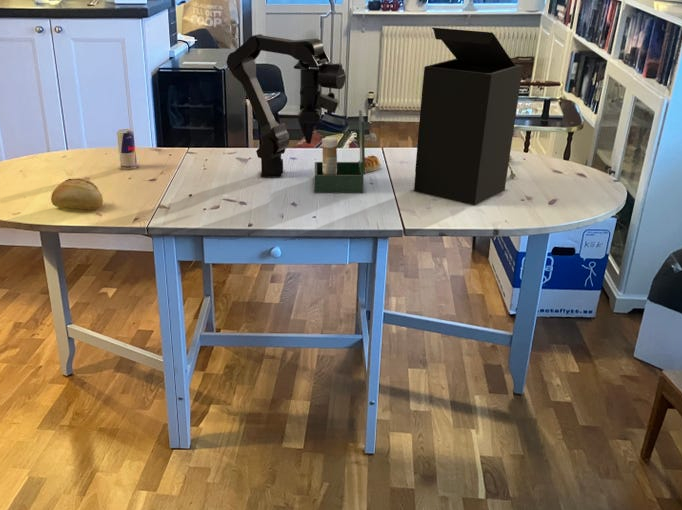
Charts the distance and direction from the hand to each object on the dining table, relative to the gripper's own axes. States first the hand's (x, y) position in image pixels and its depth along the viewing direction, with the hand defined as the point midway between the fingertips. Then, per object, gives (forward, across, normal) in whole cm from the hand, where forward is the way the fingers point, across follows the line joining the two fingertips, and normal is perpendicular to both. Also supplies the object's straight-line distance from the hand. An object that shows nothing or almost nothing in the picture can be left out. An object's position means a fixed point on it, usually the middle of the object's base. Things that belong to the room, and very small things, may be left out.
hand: (309, 139), depth 225 cm
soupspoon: (+13, +15, -64) cm, 67 cm away
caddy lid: (0, -4, -15) cm, 16 cm away
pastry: (+13, +13, -19) cm, 27 cm away
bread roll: (+13, -26, +65) cm, 72 cm away
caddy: (+13, -4, -9) cm, 16 cm away
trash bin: (+13, -8, -45) cm, 48 cm away
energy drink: (+13, +14, +60) cm, 63 cm away
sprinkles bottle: (+12, -4, -7) cm, 14 cm away
